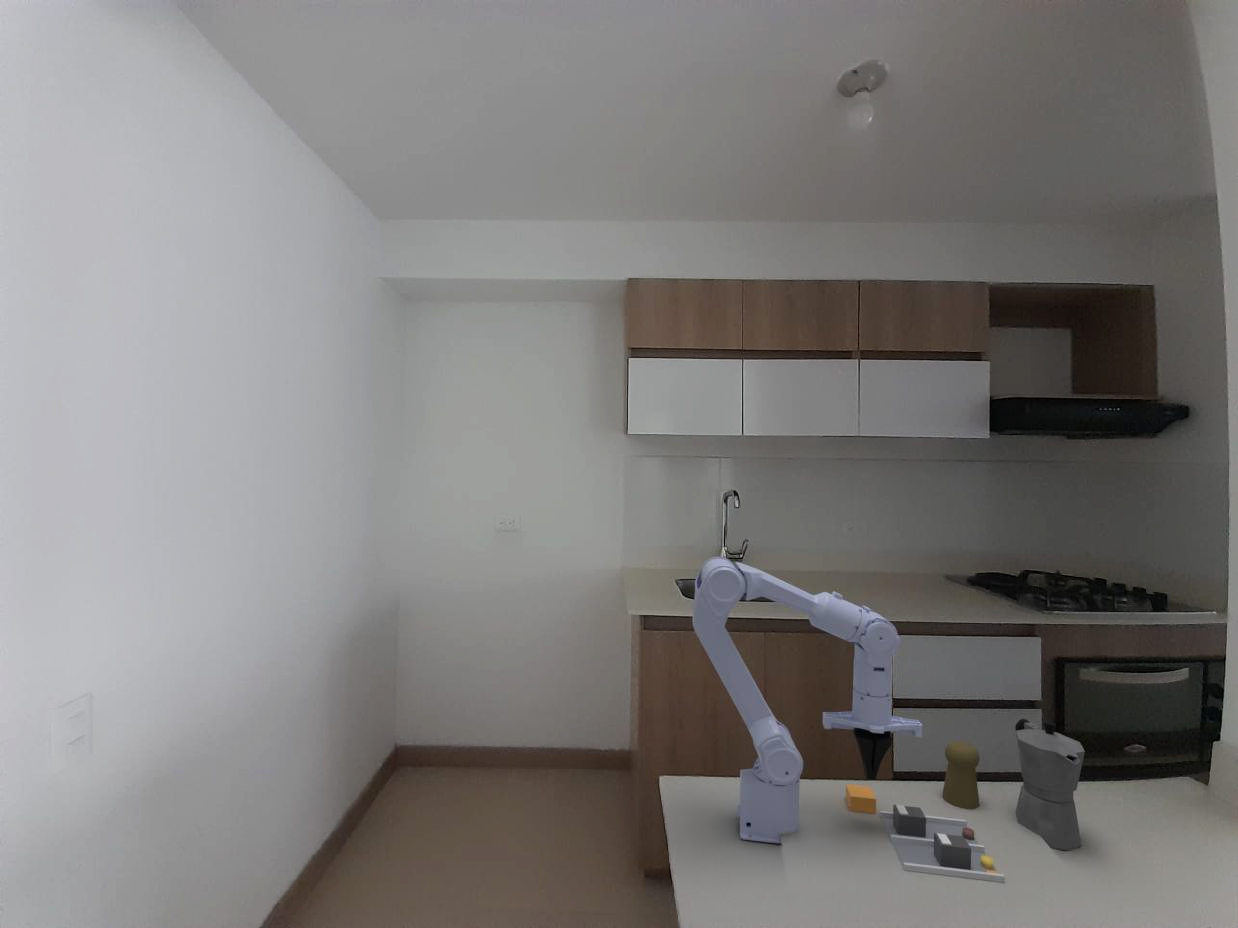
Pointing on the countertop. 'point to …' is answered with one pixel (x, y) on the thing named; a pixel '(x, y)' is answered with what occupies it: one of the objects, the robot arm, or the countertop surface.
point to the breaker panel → (920, 850)
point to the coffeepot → (1049, 784)
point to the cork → (961, 776)
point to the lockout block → (860, 799)
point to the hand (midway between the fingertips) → (870, 776)
